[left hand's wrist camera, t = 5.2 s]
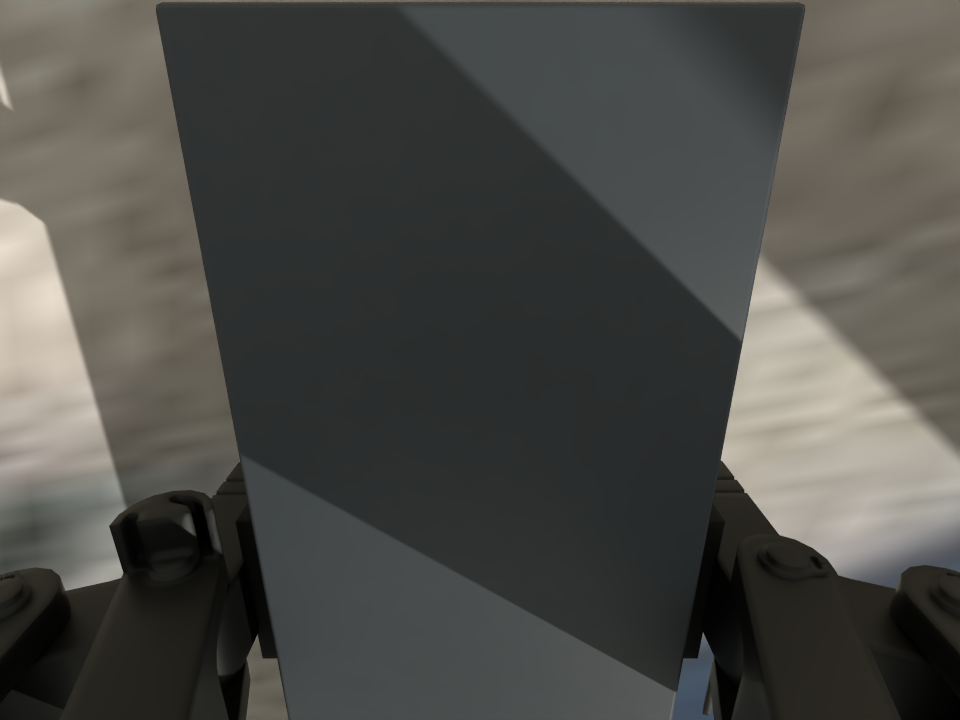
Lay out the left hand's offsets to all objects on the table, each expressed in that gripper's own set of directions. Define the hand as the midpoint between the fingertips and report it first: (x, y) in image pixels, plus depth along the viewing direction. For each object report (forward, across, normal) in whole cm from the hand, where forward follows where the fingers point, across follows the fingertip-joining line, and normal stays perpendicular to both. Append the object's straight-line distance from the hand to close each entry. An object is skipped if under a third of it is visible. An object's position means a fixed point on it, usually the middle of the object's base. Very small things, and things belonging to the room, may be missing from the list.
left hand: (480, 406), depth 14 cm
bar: (+1, 0, -23) cm, 23 cm away
